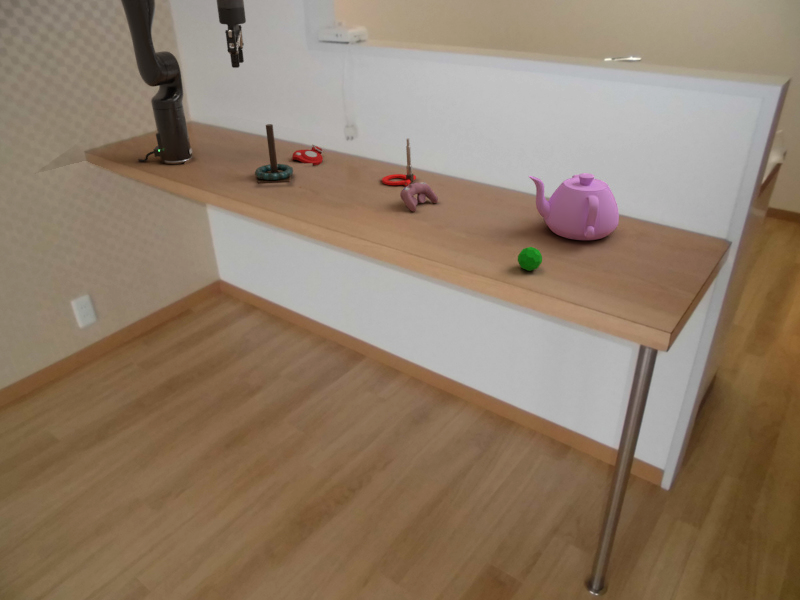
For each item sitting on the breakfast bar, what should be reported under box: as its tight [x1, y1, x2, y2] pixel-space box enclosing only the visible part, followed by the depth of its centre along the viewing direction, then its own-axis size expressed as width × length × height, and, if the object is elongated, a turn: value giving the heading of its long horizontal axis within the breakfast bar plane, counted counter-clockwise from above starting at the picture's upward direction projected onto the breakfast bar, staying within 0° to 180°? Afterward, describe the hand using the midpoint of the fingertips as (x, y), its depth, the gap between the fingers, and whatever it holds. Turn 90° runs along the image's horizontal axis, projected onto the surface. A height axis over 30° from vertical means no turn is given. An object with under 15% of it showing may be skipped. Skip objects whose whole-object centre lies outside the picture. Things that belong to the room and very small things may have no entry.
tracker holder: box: [291, 144, 324, 166], centre depth 199 cm, size 12×4×10 cm
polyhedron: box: [517, 246, 543, 272], centre depth 129 cm, size 5×5×5 cm
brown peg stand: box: [257, 123, 292, 185], centre depth 178 cm, size 9×9×16 cm
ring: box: [254, 163, 294, 180], centre depth 182 cm, size 11×11×2 cm
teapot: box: [528, 172, 620, 241], centre depth 144 cm, size 22×22×14 cm
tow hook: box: [381, 138, 417, 187], centre depth 177 cm, size 8×13×9 cm
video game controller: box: [399, 181, 439, 213], centre depth 162 cm, size 10×5×7 cm, turn 134°
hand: (238, 65), depth 185 cm, fingers open, 8 cm apart
